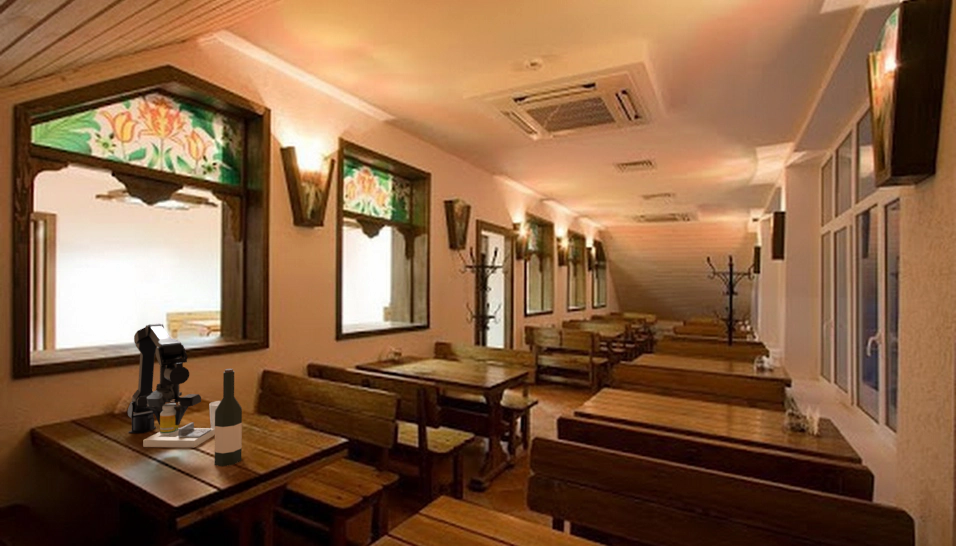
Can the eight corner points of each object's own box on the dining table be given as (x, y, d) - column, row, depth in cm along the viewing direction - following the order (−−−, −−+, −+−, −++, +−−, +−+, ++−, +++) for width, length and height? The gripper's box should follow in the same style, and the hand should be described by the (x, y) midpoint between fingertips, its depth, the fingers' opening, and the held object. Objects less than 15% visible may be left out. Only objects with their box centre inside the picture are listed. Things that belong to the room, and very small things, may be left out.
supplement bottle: (161, 431, 164) (161, 403, 164) (179, 429, 166) (179, 401, 166) (158, 436, 159) (158, 407, 159) (177, 434, 161) (177, 405, 161)
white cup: (235, 425, 191) (236, 400, 191) (223, 432, 184) (224, 406, 184) (217, 424, 192) (217, 399, 192) (204, 431, 184) (204, 405, 184)
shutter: (178, 437, 170) (178, 428, 170) (191, 430, 178) (191, 422, 178) (199, 437, 170) (199, 429, 170) (211, 430, 178) (211, 422, 178)
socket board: (143, 446, 167) (143, 439, 167) (167, 434, 180) (167, 427, 180) (194, 447, 167) (194, 440, 167) (214, 434, 180) (215, 428, 180)
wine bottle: (220, 456, 159) (221, 366, 159) (246, 456, 160) (247, 366, 160) (208, 466, 151) (209, 372, 151) (236, 466, 152) (236, 372, 152)
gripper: (124, 384, 155) (124, 432, 155) (182, 385, 154) (181, 433, 155) (148, 377, 166) (148, 421, 166) (202, 377, 166) (201, 422, 166)
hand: (169, 425), depth 163 cm, fingers closed on supplement bottle, 5 cm apart
